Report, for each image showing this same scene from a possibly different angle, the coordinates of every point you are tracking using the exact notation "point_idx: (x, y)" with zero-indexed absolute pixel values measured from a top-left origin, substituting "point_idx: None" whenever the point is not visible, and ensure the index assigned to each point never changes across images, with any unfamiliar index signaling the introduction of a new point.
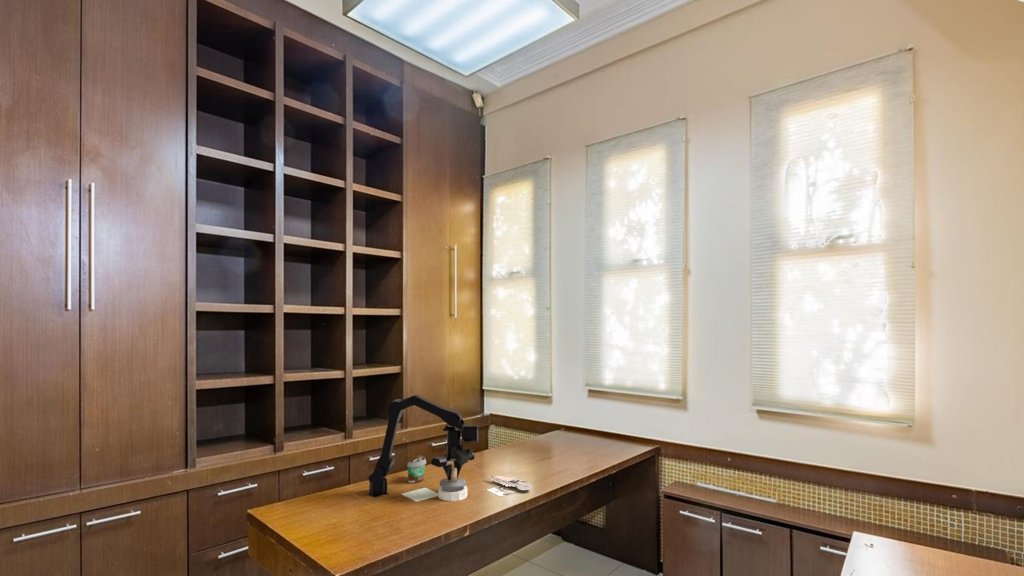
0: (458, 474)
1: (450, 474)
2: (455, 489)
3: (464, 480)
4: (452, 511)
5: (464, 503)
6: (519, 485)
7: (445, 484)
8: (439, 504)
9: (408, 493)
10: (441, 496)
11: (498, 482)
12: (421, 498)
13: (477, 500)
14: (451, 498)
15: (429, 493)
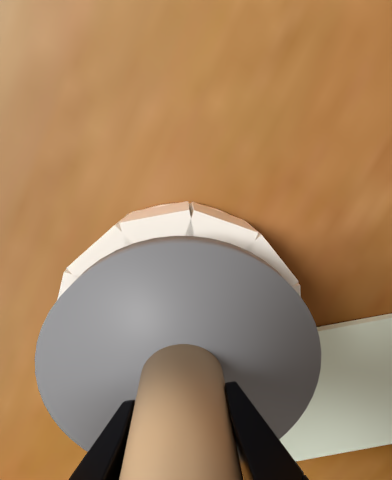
0: (97, 448)
1: (259, 452)
2: None
3: (49, 358)
4: (327, 27)
5: (166, 138)
6: None
7: (293, 338)
8: (323, 217)
9: (373, 432)
10: None
11: None
12: (365, 344)
13: (46, 141)
14: (241, 220)
15: None
